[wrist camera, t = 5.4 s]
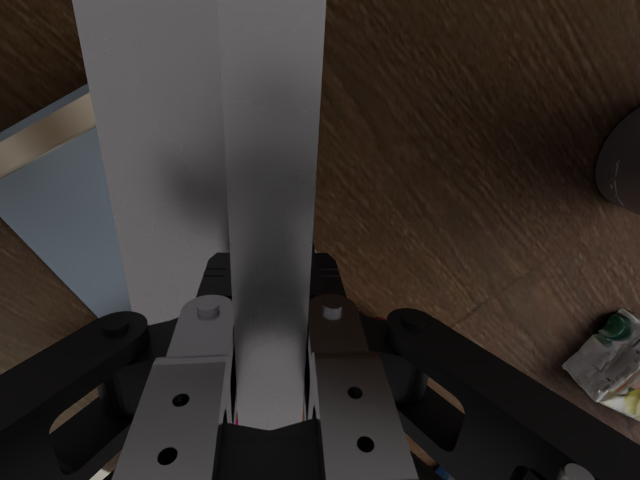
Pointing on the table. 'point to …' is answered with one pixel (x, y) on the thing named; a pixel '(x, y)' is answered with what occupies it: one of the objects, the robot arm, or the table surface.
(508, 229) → the table surface
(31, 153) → the walls
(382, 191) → the table surface
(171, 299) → the bracket
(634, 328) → the juice carton
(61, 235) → the board
